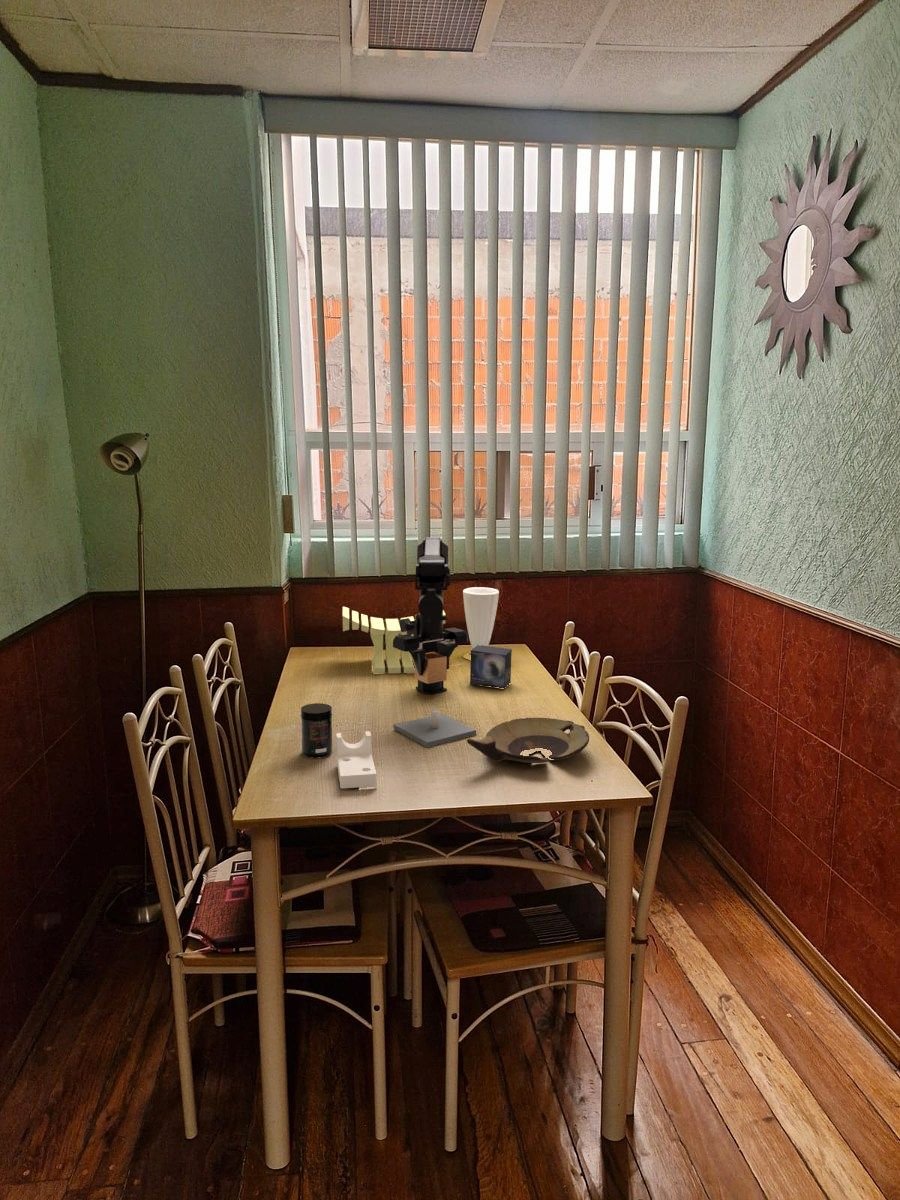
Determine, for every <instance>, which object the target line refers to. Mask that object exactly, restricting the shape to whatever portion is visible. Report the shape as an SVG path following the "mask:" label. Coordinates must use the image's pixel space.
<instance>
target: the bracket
mask: <svg viewBox="0 0 900 1200" xmlns="http://www.w3.org/2000/svg"><path fill="white" fill-rule="evenodd" d="M371 733H372V732H371V731H370V730H369V731H365V733H364V736H363V738H362V739H361V740H360V741H359V742H356V743H350V742H349V743H348V742H346V741H345V740H344V739H343V737H342V733H341V732H337V733H335V734H336V736H335V739H336V741H335V742H336V743H335V744H336V766H337V773H338V774H337V775H338V779H339V785H340V786H339V787H340V789H351V788H352V789H353V788H358V787H359V788H367V787H377V778H378V777H377V771H376V766H375V762H374V759H373V755H372V735H371Z"/></svg>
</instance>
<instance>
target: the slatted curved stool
mask: <svg viewBox="0 0 900 1200" xmlns="http://www.w3.org/2000/svg"><path fill="white" fill-rule="evenodd" d="M360 615H361V616H360V619H359V612H358V611H356V610H351V620H350V608H349V607H346V606H342V632H345V631H349V630H350V629H352V630H353V631H354V630H358V631H359V628H360V630H361V631H362V632H365V633H367V634H369V632H370V639H371V641H372V644H373V647H374V651H373V652H374V653H373V655H372V658H371V661H372V666H373V673H385V674H388V673H401V672H404V673H407V674H415V668H414V666H415V664H414V665H413V663H414V661H413V658H412V656H411V654H410V652H409V651H408V652H406V651H402V650H399V649H397V648H394V647H393V639H394V638H395V636H399V635H406V634H407V632H401V629H400V620H401V619H406V618H409V619H410V621H415V620H416V618H415V617H414V615H413V616H407V617H401V618H400V619H399V618H385V619H383V618H381V617H374V616H370V619H369V618H368V615H366V614H363V613H361V614H360ZM443 615H444V616H446V617H447V615H446V612H445V610H444V609H443ZM446 620H447V619H446ZM446 620H443V625H444V624H446ZM352 630H351V631H352ZM384 635H385V637H384ZM411 636H414V637H415V635H414V634H411ZM384 639H385V641H384ZM384 651H385V659H384ZM399 652H400V653H399ZM399 655H400V656H399ZM412 661H413V662H412ZM401 662H402V664H401ZM385 664H387V665H386V666H385ZM404 673H403V674H404ZM401 674H402V673H401Z"/></svg>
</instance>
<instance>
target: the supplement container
mask: <svg viewBox="0 0 900 1200" xmlns="http://www.w3.org/2000/svg"><path fill="white" fill-rule="evenodd" d="M300 720H301V721H300V722H301V723H300V726H301V727H300V730H301V752H302V755H303V756H305V757H306V756H307V758H309V757H313V758H312V759H319V758H318V757H322V758H325V757H324V756H326V757H328V756H330V755H331V753H332V751H333V707H332V706H331V705H329V704H327V703H322V702H317V703H308V704H304V705H303V706H301V707H300ZM329 754H330V755H329ZM327 755H328V756H327Z"/></svg>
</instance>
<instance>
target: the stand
mask: <svg viewBox="0 0 900 1200" xmlns="http://www.w3.org/2000/svg"><path fill="white" fill-rule="evenodd" d="M394 729H395V731H396V730H397V732H398V731H399V732H398V733H400V732H401V733H400V734H402V735H404V736H405V735H406V736H405V737H407V736H408V737H407V738H409V737H410V738H409V739H411V740H413V741H415V742H417V743H418V742H419V744H421V746H424V745H425V746H424V747H426V748H430V747H429V746H431V747H434V745H435V746H438V745H437V744H439V745H442V743H443V744H446V742H447V743H450V742H454V741H458V740H461V739H460V738H462V739H465V738H464V737H466V738H469V737H468V736H470V737H473V736H472V735H474V736H476V735H477V729H475V728H472V727H471V726H468V725H466V724H465V723H462V722H460V721H458V720H456V719H454V718H452V717H450V716H448V715H446V714H443V713H440V710H438V709H432V710H430V716H425V717H421V718H416V719H412V720H407V721H403V722H398V723H395V724H393V730H394ZM475 734H476V735H475ZM457 739H458V740H457ZM453 740H454V741H453ZM449 741H450V742H449Z"/></svg>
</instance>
